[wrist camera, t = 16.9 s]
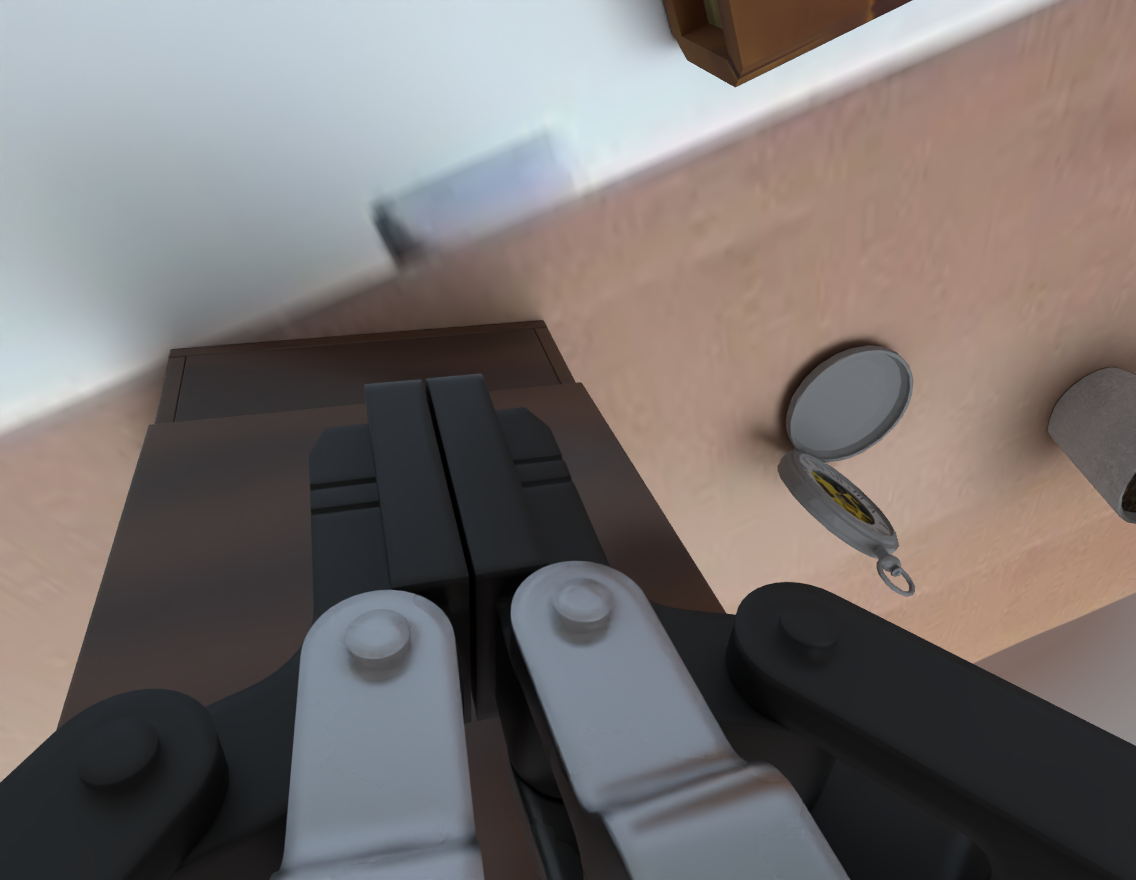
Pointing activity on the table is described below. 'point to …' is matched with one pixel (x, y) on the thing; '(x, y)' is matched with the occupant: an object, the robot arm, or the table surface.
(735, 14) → the diary
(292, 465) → the lid
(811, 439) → the pocket watch
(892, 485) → the table surface
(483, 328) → the box
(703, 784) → the robot arm
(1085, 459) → the house plant
